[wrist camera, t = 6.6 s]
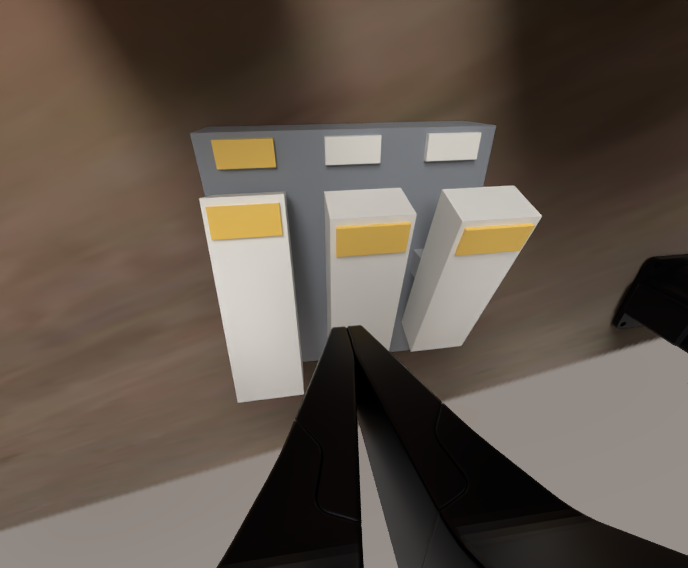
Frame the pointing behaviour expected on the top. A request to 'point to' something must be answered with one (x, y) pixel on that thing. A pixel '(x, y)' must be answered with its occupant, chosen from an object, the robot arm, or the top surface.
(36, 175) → the top surface
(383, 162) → the console
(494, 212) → the block
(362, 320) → the rocker middle
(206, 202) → the block
